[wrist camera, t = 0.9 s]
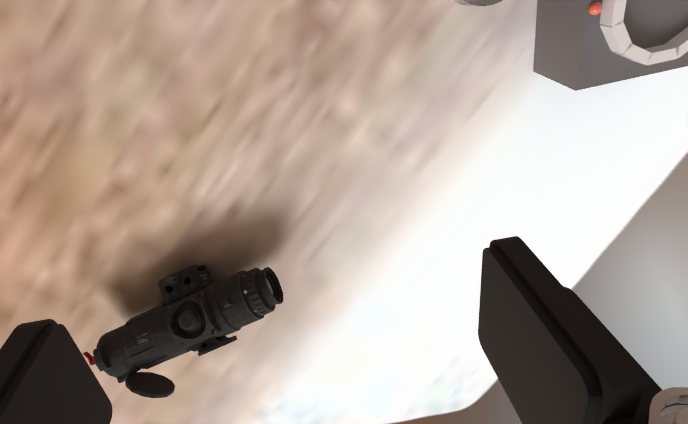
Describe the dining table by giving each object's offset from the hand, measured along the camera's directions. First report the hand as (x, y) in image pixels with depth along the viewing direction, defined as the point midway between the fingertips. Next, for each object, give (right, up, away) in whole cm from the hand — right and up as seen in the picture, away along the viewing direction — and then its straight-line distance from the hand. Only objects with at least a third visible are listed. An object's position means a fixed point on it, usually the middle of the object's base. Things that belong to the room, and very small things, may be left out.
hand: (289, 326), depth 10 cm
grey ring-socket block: (+22, +22, +24) cm, 39 cm away
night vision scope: (-14, -6, +34) cm, 37 cm away
